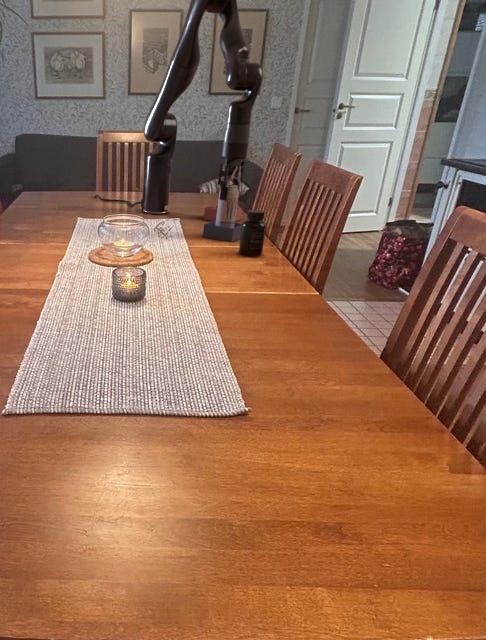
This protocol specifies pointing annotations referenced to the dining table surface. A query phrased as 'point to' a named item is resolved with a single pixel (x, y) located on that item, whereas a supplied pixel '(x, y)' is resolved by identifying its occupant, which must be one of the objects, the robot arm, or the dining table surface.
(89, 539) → the dining table surface
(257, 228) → the supplement bottle
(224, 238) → the slate bin
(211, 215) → the rose bin
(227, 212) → the energy drink can
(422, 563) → the dining table surface
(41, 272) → the dining table surface
